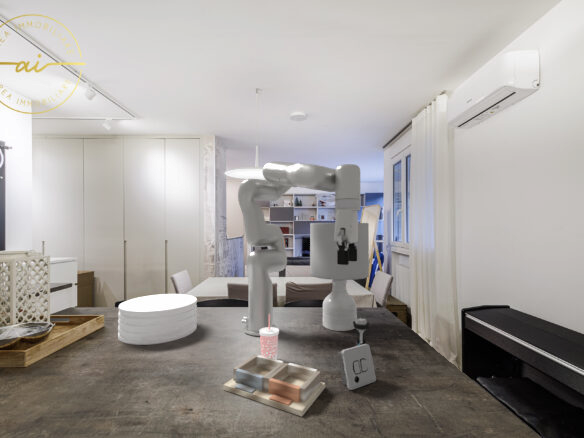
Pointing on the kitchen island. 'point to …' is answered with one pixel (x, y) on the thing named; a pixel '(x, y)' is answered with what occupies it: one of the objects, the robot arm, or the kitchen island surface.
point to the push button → (361, 329)
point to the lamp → (338, 273)
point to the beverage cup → (269, 341)
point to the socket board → (276, 383)
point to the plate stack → (157, 318)
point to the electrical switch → (356, 366)
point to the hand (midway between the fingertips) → (347, 262)
